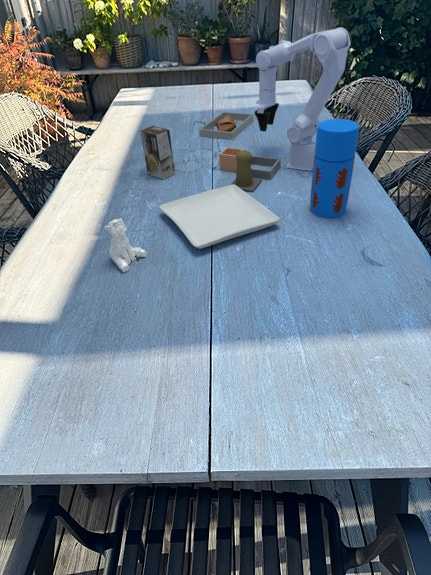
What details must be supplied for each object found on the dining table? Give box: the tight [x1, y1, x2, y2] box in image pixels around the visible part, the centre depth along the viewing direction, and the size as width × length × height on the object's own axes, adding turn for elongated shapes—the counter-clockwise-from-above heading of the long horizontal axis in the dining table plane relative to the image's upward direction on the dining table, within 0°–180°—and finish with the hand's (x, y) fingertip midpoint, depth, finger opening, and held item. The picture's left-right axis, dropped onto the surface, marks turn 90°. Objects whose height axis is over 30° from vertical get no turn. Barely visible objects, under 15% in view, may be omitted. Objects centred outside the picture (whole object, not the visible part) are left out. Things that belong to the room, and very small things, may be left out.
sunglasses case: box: [216, 114, 237, 132], centre depth 185 cm, size 18×7×7 cm, turn 7°
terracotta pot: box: [218, 146, 245, 173], centre depth 150 cm, size 7×7×6 cm
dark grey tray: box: [198, 111, 255, 141], centre depth 185 cm, size 16×26×3 cm, turn 155°
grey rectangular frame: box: [250, 155, 282, 181], centre depth 147 cm, size 12×12×3 cm
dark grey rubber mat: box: [229, 178, 263, 193], centre depth 140 cm, size 9×9×1 cm
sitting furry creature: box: [103, 217, 147, 273], centre depth 106 cm, size 10×9×12 cm
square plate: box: [158, 184, 281, 249], centre depth 122 cm, size 27×27×4 cm
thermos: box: [309, 118, 360, 219], centre depth 116 cm, size 11×11×25 cm
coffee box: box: [139, 125, 176, 180], centre depth 147 cm, size 9×6×16 cm
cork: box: [235, 149, 253, 187], centre depth 137 cm, size 6×6×11 cm
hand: (266, 127), depth 153 cm, fingers open, 7 cm apart
